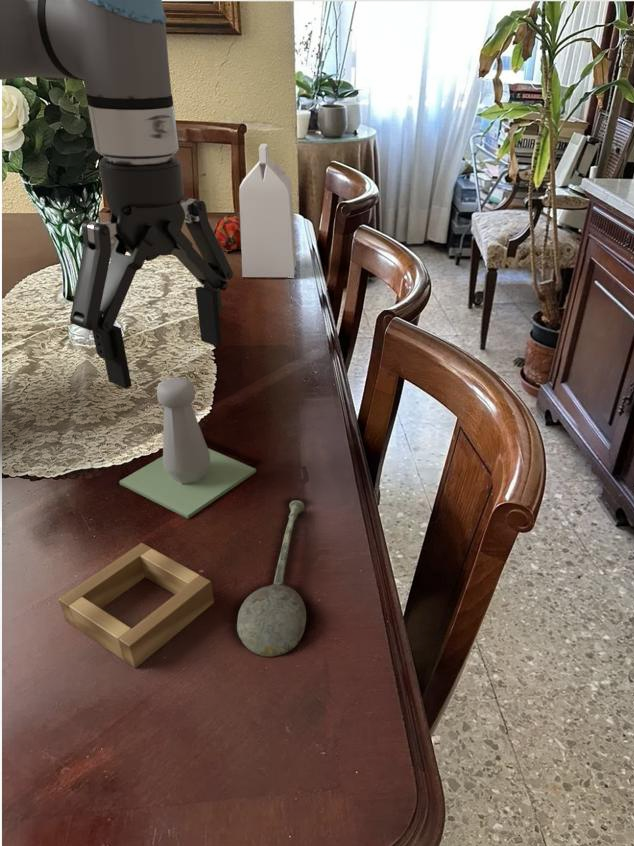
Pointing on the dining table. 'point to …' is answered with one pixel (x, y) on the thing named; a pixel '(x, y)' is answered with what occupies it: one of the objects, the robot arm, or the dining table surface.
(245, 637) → the soupspoon
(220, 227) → the dragon fruit
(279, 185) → the milk
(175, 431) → the salt shaker
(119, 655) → the frame
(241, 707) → the dining table surface
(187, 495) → the mat
